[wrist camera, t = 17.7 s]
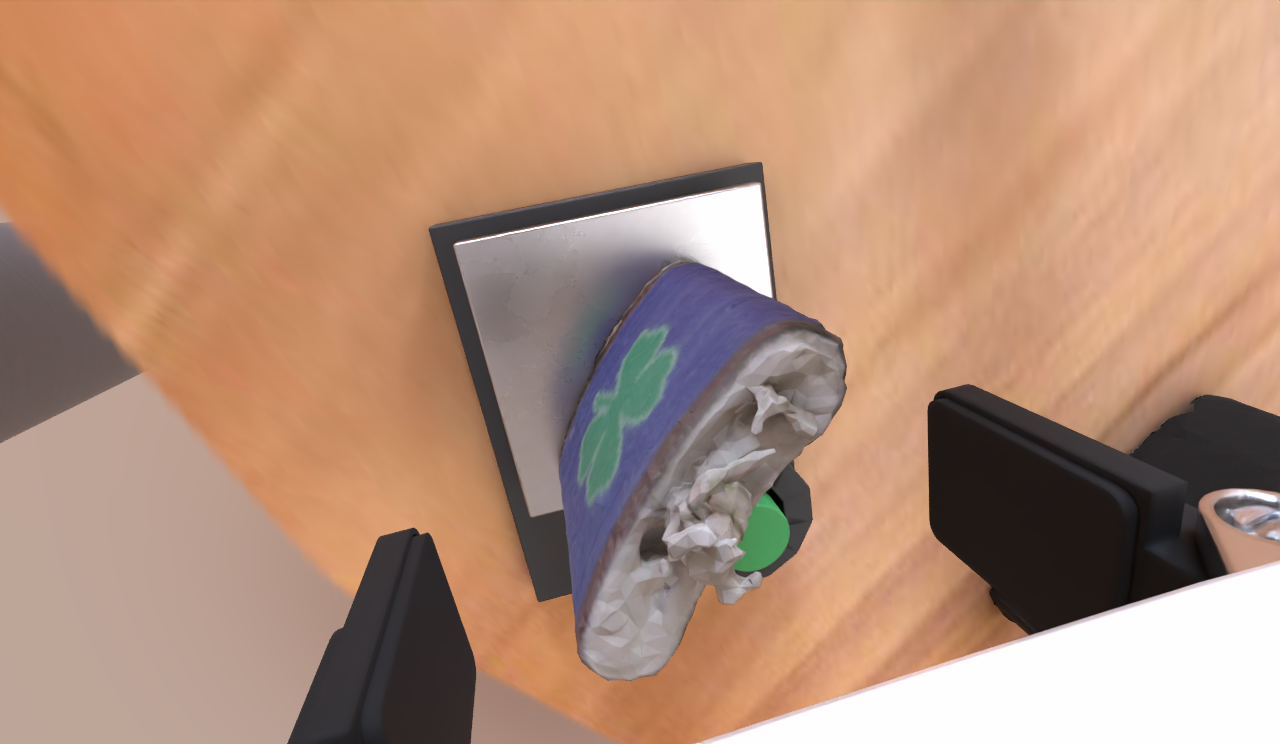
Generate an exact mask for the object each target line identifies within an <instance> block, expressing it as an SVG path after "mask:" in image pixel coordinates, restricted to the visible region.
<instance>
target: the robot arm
mask: <svg viewBox="0 0 1280 744" xmlns="http://www.w3.org/2000/svg"><path fill="white" fill-rule="evenodd" d="M928 463H929V518H930V526H931V529H932V531H933V533H934V535H935V537H936V538H937V539H938V540H939V541H940V542H941V543H942V544H943V545H944V546H945V547H947V548H948V549H949V550H950V551H951V552H952V553H954V554H955V555H956V556H957V557H958V558H959V559H961V560H962V561H963V562H964V563H965V564H967V565H968V566H969V567H970V568H971V569H972V570H974V571H975V572H976V573H977V574H978V575H979V576H981V577H982V578H983V579H984V580H985V581H986V582H988V583H989V584H990V585H991V586H992V587H993V588H995V589H996V590H997V591H998V592H999V593H1000V594H1002V595H1003V596H1004V597H1005V598H1006V599H1007V600H1009V601H1010V602H1011V603H1012V604H1013V605H1014V606H1016V607H1017V608H1018V609H1019V610H1020V611H1021V612H1023V613H1024V614H1025V615H1026V616H1027V617H1028V618H1030V619H1031V620H1032V621H1033V622H1034V623H1035V624H1037V625H1038V626H1039V627H1040V628H1041V629H1042V630H1044V631H1042V632H1039V633H1036V634H1033V635H1029V636H1026V637H1023V638H1020V639H1017V640H1014V641H1010V642H1007V643H1004V644H1001V645H998V646H995V647H991V648H988V649H985V650H982V651H979V652H976V653H972V654H969V655H966V656H963V657H960V658H957V659H954V660H951V661H948V662H944V663H941V664H938V665H935V666H932V667H929V668H926V669H923V670H920V671H916V672H913V673H910V674H907V675H904V676H901V677H898V678H895V679H891V680H888V681H885V682H882V683H879V684H876V685H873V686H870V687H867V688H864V689H861V690H857V691H854V692H851V693H848V694H845V695H842V696H839V697H836V698H833V699H830V700H827V701H823V702H820V703H817V704H814V705H811V706H808V707H805V708H802V709H799V710H796V711H793V712H789V713H786V714H783V715H780V716H777V717H774V718H771V719H768V720H765V721H762V722H759V723H756V724H753V725H750V726H747V727H744V728H741V729H738V730H735V731H732V732H729V733H726V734H722V735H719V736H716V737H713V738H710V739H707V740H704V741H701V742H698V743H695V744H1280V493H1277V492H1271V491H1264V490H1257V489H1225V490H1217V491H1214V492H1212V493H1209V494H1206V495H1204V497H1203V498H1202V499H1201V500H1200V501H1199V505H1198V509H1197V508H1195V507H1193V506H1191V505H1189V504H1187V503H1185V498H1186V491H1187V485H1188V482H1187V481H1184V480H1182V479H1180V478H1178V477H1176V476H1173V475H1171V474H1169V473H1167V472H1164V471H1162V470H1160V469H1158V468H1156V467H1153V466H1151V465H1149V464H1147V463H1144V462H1142V461H1140V460H1138V459H1136V458H1133V457H1131V456H1129V455H1127V454H1124V453H1122V452H1120V451H1118V450H1116V449H1113V448H1111V447H1109V446H1107V445H1104V444H1102V443H1100V442H1098V441H1096V440H1093V439H1091V438H1089V437H1087V436H1084V435H1082V434H1080V433H1078V432H1076V431H1073V430H1071V429H1069V428H1067V427H1064V426H1062V425H1060V424H1058V423H1056V422H1053V421H1051V420H1049V419H1047V418H1044V417H1042V416H1040V415H1038V414H1036V413H1033V412H1031V411H1029V410H1027V409H1024V408H1022V407H1020V406H1018V405H1016V404H1013V403H1011V402H1009V401H1007V400H1004V399H1002V398H1000V397H998V396H996V395H993V394H991V393H989V392H987V391H984V390H982V389H980V388H978V387H976V386H973V385H970V384H967V385H962V386H958V387H955V388H951V389H947V390H943V391H939V392H938V393H937V394H936V395H935V397H934V400H933V401H931V402H930V403H929V406H928ZM475 682H476V666H475V660H474V656H473V652H472V649H471V647H470V644H469V641H468V638H467V635H466V632H465V630H464V627H463V624H462V621H461V618H460V615H459V613H458V610H457V607H456V604H455V601H454V598H453V596H452V593H451V590H450V587H449V584H448V581H447V579H446V576H445V573H444V570H443V567H442V564H441V562H440V559H439V556H438V553H437V550H436V547H435V545H434V542H433V539H432V537H431V535H430V534H429V533H425V534H421V535H420V534H419V532H418V531H417V529H415V528H411V529H407V530H403V531H399V532H395V533H392V534H388V535H384V536H381V537H379V538H378V540H377V542H376V545H375V547H374V550H373V552H372V555H371V558H370V560H369V563H368V565H367V568H366V570H365V573H364V576H363V578H362V581H361V583H360V586H359V588H358V591H357V593H356V596H355V599H354V601H353V604H352V607H351V609H350V611H349V614H348V617H347V619H346V622H345V624H344V627H343V628H341V629H338V630H337V631H335V632H334V634H333V635H332V637H331V639H330V641H329V643H328V645H327V648H326V650H325V653H324V655H323V658H322V660H321V663H320V665H319V668H318V670H317V672H316V675H315V677H314V680H313V682H312V685H311V687H310V690H309V692H308V694H307V697H306V700H305V702H304V704H303V707H302V709H301V712H300V714H299V717H298V719H297V721H296V724H295V726H294V729H293V731H292V734H291V736H290V739H289V741H288V743H287V744H470V743H471V730H472V718H473V707H474V695H475Z"/></svg>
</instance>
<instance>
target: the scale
mask: <svg viewBox="0 0 1280 744" xmlns="http://www.w3.org/2000/svg"><path fill="white" fill-rule="evenodd" d="M749 182H759V183H761V188H762V197H763V207H764V216H765V225H766V235H767V244H768V253H769V263H770V272H771V281H772V291H773V299H775V300H776V301H777V299H776V289H775V280H774V270H773V261H772V251H771V242H770V232H769V223H768V213H767V204H766V194H765V185H764V175H763V166H762V163H761V162H755V163H746V164H741V165H736V166H731V167H726V168H720V169H715V170H710V171H705V172H700V173H695V174H690V175H685V176H680V177H675V178H670V179H664V180H659V181H654V182H649V183H644V184H639V185H634V186H629V187H624V188H619V189H614V190H609V191H603V192H598V193H593V194H588V195H583V196H578V197H573V198H568V199H563V200H558V201H553V202H548V203H542V204H537V205H532V206H527V207H522V208H517V209H512V210H507V211H502V212H497V213H492V214H487V215H481V216H476V217H471V218H466V219H461V220H456V221H451V222H446V223H441V224H436V225H434V226H432V227H430V228H429V232H430V236H431V239H432V243H433V246H434V249H435V253H436V256H437V260H438V263H439V266H440V270H441V273H442V277H443V280H444V283H445V287H446V290H447V294H448V297H449V300H450V304H451V307H452V311H453V314H454V317H455V321H456V324H457V328H458V331H459V334H460V338H461V341H462V345H463V348H464V351H465V355H466V358H467V362H468V365H469V368H470V372H471V375H472V379H473V382H474V385H475V389H476V392H477V396H478V399H479V402H480V406H481V409H482V413H483V416H484V419H485V423H486V426H487V430H488V433H489V436H490V440H491V443H492V447H493V450H494V453H495V457H496V460H497V464H498V467H499V470H500V474H501V477H502V481H503V484H504V487H505V491H506V494H507V498H508V501H509V504H510V508H511V511H512V515H513V518H514V521H515V525H516V528H517V532H518V535H519V539H520V542H521V545H522V549H523V552H524V556H525V559H526V562H527V566H528V569H529V573H530V576H531V579H532V583H533V586H534V590H535V593H536V596H537V600H538V602H541V601H545V600H549V599H553V598H557V597H560V596H564V595H568V594H572V582H571V573H570V562H569V549H568V542H567V536H566V521H565V515H564V510H560V511H556V512H552V513H548V514H544V515H540V516H536V517H530V515H529V512H528V508H527V505H526V501H525V498H524V494H523V490H522V487H521V483H520V480H519V476H518V473H517V469H516V466H515V462H514V459H513V455H512V452H511V448H510V445H509V441H508V437H507V434H506V430H505V427H504V423H503V420H502V416H501V413H500V409H499V406H498V402H497V399H496V395H495V392H494V388H493V384H492V381H491V377H490V374H489V370H488V367H487V363H486V360H485V356H484V353H483V349H482V346H481V342H480V339H479V335H478V331H477V328H476V324H475V321H474V317H473V314H472V310H471V307H470V303H469V300H468V296H467V293H466V289H465V286H464V282H463V278H462V275H461V271H460V268H459V264H458V261H457V257H456V254H455V250H454V247H453V246H454V244H455V243H456V242H457V241H460V240H465V239H470V238H475V237H480V236H485V235H490V234H495V233H500V232H505V231H510V230H515V229H520V228H525V227H530V226H535V225H540V224H545V223H550V222H555V221H560V220H565V219H570V218H575V217H580V216H585V215H590V214H595V213H600V212H605V211H610V210H615V209H620V208H625V207H630V206H635V205H640V204H645V203H650V202H655V201H660V200H665V199H670V198H675V197H680V196H685V195H690V194H695V193H700V192H705V191H710V190H715V189H720V188H725V187H730V186H735V185H740V184H744V183H749ZM766 493H767V494H768V495H769V496H770V497H771V498H772V500H773V501H774V502H775V504H776V505H777V506H778V508H779V509H780V510H781V512H782V513H783V514H784V516H785V517H786V519H787V521H788V524H789V530H790V535H789V541H788V544H787V547H786V548H785V550H784V552H783V553H782V555H781V556H780V557H779V558H778V559H777V560H776V561H775V562H773V563H772V564H771V565H769V566H767V567H765V568H763V569H760V570H756V571H757V572H760V573H761V575H762V578H763V577H767V576H769V575H771V574H772V573H773V572H774V571H776V570H777V569H778V568H779V567H781V566H782V565H783V564H784V563H785V562H787V561H788V560H789V559H790V558H792V557H793V556H794V555H795V554H796V553H797V551H798V550H799V548H800V546H801V544H802V542H803V540H804V538H805V535H806V533H807V531H808V529H809V527H810V525H811V523H812V520H813V518H812V508H811V497H810V488H809V486H808V485H807V484H806V483H805V481H804V480H803V479H802V478H801V477H800V476H799V474H798V473H797V472H796V471H795V469H794V460H792V461H791V462H790V463H789V464H788V465H787V466H786V467H785V468H784V470H783V471H782V472H781V473H780V474H779V476H778V477H777V478H776V480H775V481H774V483H773V486H772V487H771V488H770V489H769V490H768V491H766ZM734 570H735V569H734ZM756 571H750V572H744V571H738V570H735V573H736V574H738V575H739V576H741V577H745V578H746V577H748V576H749V575H751V574H753V573H754V572H756Z"/></svg>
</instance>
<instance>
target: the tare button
mask: <svg viewBox="0 0 1280 744" xmlns="http://www.w3.org/2000/svg"><path fill="white" fill-rule="evenodd" d="M789 535H790V530H789V524H788V521H787V519H786V517H785V516H784V514H783V513H782V512H781V510H780V509H779V508H778V506H777V505H776V504H775V502H774V501H773V500H772V498H771V497H770V496H769V495H768V494H767V493H766V492H765V494H764V495H763V497H762V498H761V499H760V501H759V502H758V504H757V505H756V506H755V507H754V508H753V510H752V514H751V515H750V517H749V519H748V526H747V528H746V530H745V533H744V537H743V540H742V541H741V542H740V543H739V544H738V545H737V547H738V548H740V549H741V550H743V551H745V552H746V553H745V555H744V556H743V557H742V558H741V559H740V560H738V561H737V562H735V563H734V569H735V570H738V571H744V572H750V571H756V570H760V569H763V568H765V567H767V566H769V565H771V564H772V563H773V562H775V561H776V560H777V559H778V558H779V557H780V556H781V555H782V553H783V552H784V550H785V548H786V547H787V544H788V541H789Z"/></svg>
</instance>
